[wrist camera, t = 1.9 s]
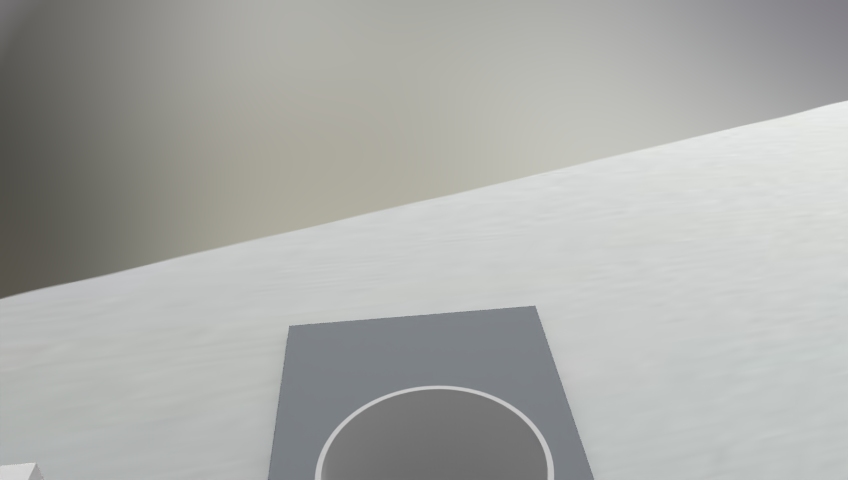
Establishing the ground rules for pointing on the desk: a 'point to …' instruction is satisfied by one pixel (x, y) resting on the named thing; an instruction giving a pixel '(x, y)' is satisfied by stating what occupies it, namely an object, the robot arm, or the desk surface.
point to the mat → (418, 378)
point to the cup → (436, 439)
